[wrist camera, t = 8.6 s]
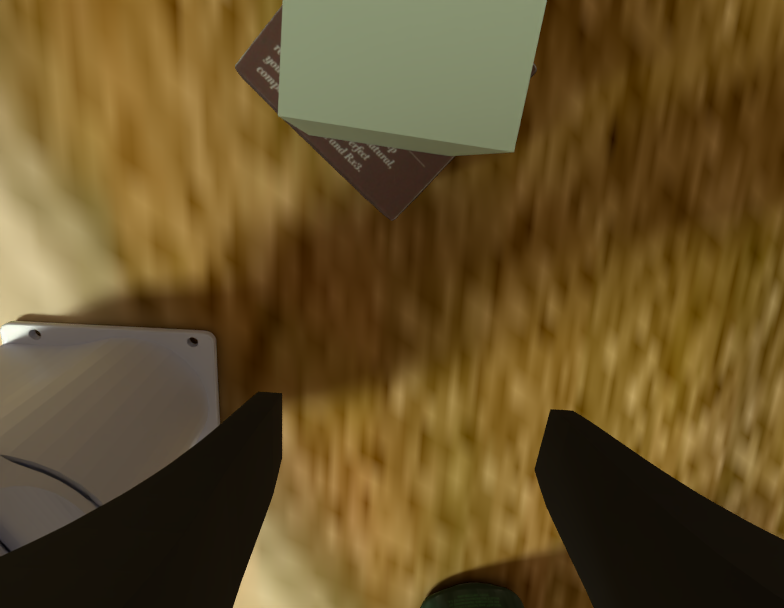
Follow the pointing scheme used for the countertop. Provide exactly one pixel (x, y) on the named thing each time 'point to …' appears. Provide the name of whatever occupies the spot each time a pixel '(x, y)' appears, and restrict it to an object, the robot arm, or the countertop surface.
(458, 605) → the coffee jar
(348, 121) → the sage block
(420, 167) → the box
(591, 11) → the countertop surface
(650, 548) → the robot arm
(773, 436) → the countertop surface
